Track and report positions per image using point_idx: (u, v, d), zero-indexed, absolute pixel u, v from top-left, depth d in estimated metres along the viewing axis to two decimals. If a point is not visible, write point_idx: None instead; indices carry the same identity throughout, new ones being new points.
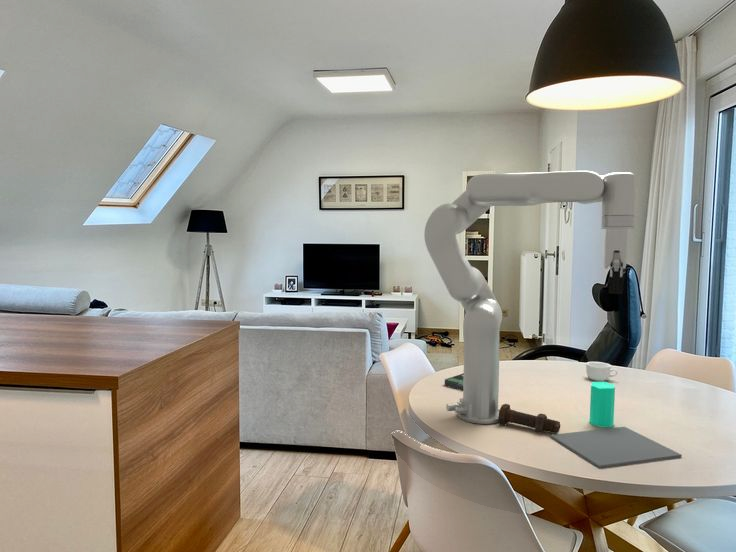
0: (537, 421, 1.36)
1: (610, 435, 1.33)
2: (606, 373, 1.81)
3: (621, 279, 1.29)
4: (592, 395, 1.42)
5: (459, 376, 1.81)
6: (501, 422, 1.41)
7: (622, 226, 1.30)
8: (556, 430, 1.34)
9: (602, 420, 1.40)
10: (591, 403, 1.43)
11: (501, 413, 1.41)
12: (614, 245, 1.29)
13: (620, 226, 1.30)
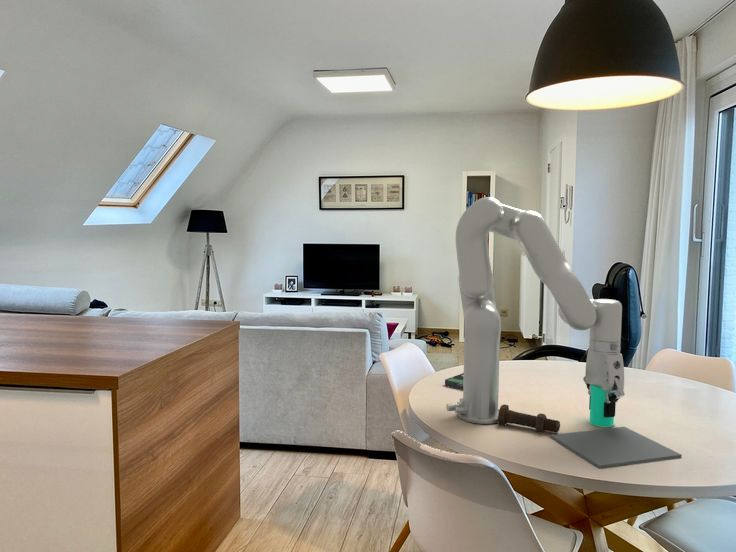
0: (537, 421, 1.36)
1: (610, 435, 1.33)
2: None
3: None
4: (592, 395, 1.42)
5: (459, 376, 1.81)
6: (501, 423, 1.41)
7: None
8: (556, 430, 1.35)
9: (602, 420, 1.40)
10: (591, 403, 1.43)
11: (501, 414, 1.40)
12: None
13: None
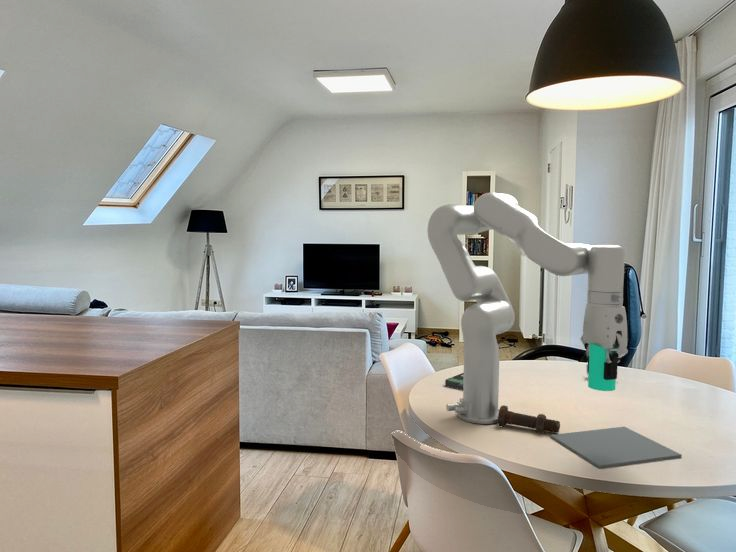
0: (538, 422, 1.36)
1: (610, 435, 1.33)
2: None
3: None
4: (591, 355, 1.24)
5: (459, 376, 1.81)
6: (500, 424, 1.40)
7: None
8: (557, 430, 1.34)
9: (603, 383, 1.22)
10: (590, 364, 1.25)
11: (501, 415, 1.40)
12: None
13: None
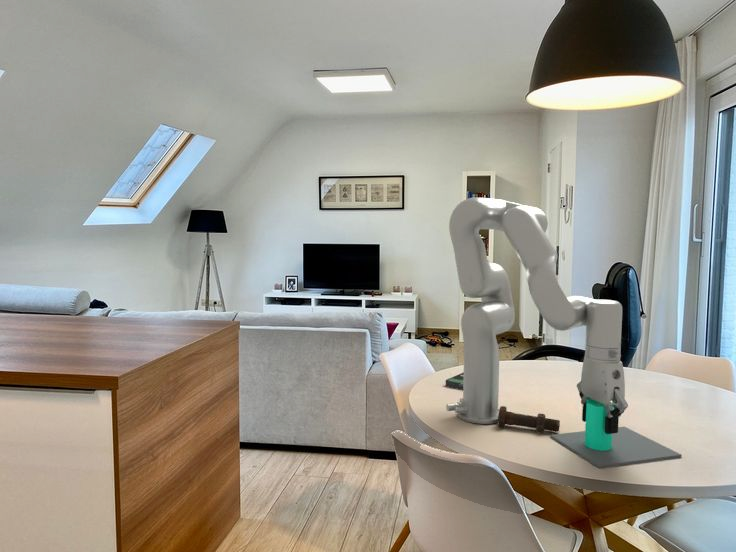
0: (538, 421, 1.36)
1: None
2: None
3: None
4: (588, 414, 1.26)
5: (458, 376, 1.81)
6: (500, 425, 1.39)
7: None
8: (557, 429, 1.35)
9: (599, 442, 1.24)
10: (586, 423, 1.26)
11: (501, 416, 1.39)
12: None
13: None
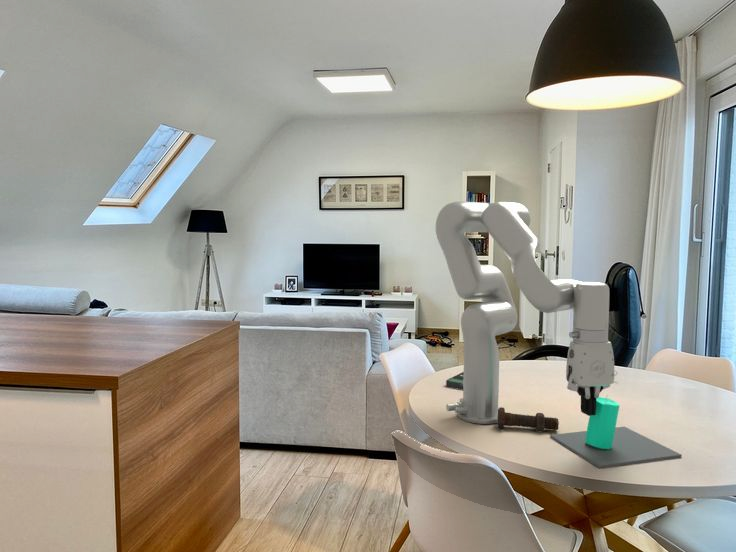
0: (539, 421, 1.36)
1: None
2: None
3: None
4: None
5: (458, 376, 1.81)
6: (501, 427, 1.38)
7: None
8: (557, 427, 1.36)
9: (600, 440, 1.24)
10: (590, 420, 1.26)
11: (501, 417, 1.38)
12: None
13: None
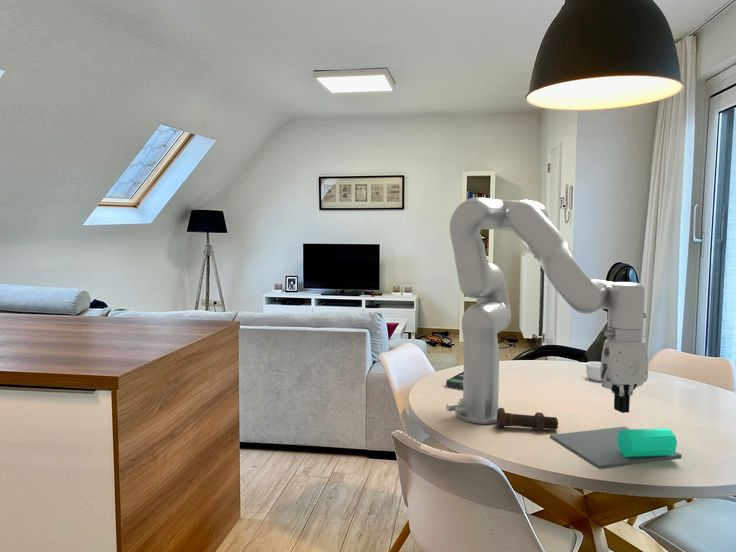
0: (539, 420, 1.37)
1: (610, 435, 1.33)
2: None
3: None
4: (663, 453, 1.19)
5: (458, 376, 1.81)
6: (501, 427, 1.38)
7: None
8: (557, 426, 1.37)
9: None
10: (654, 452, 1.19)
11: (501, 418, 1.37)
12: None
13: None
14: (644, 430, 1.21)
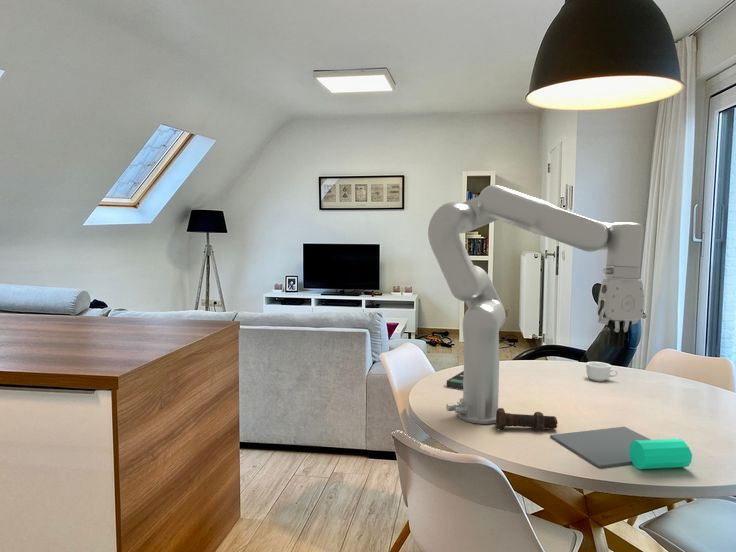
0: (539, 420, 1.37)
1: (610, 435, 1.33)
2: (606, 373, 1.81)
3: None
4: None
5: (458, 376, 1.81)
6: (501, 428, 1.38)
7: None
8: (556, 425, 1.37)
9: None
10: None
11: (502, 418, 1.37)
12: None
13: None
14: (665, 460, 1.14)
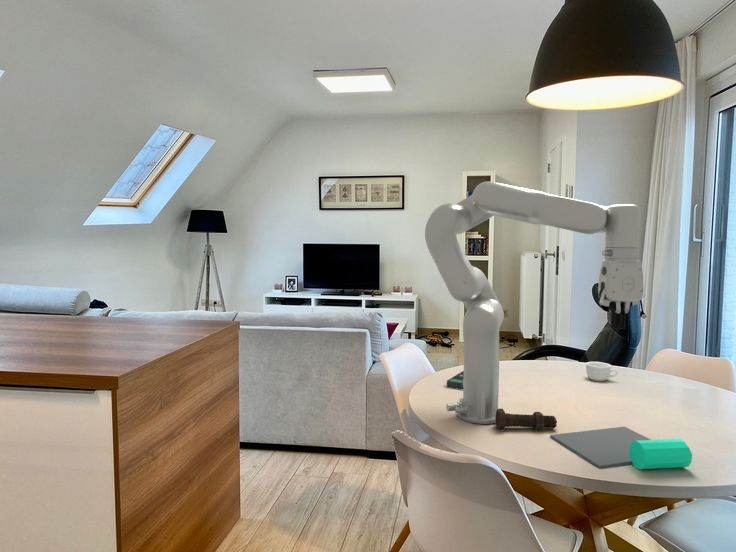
0: (538, 420, 1.37)
1: (610, 435, 1.33)
2: (606, 373, 1.81)
3: None
4: None
5: (458, 376, 1.80)
6: (501, 428, 1.37)
7: None
8: (555, 425, 1.38)
9: None
10: None
11: (502, 419, 1.37)
12: None
13: None
14: (665, 460, 1.14)
